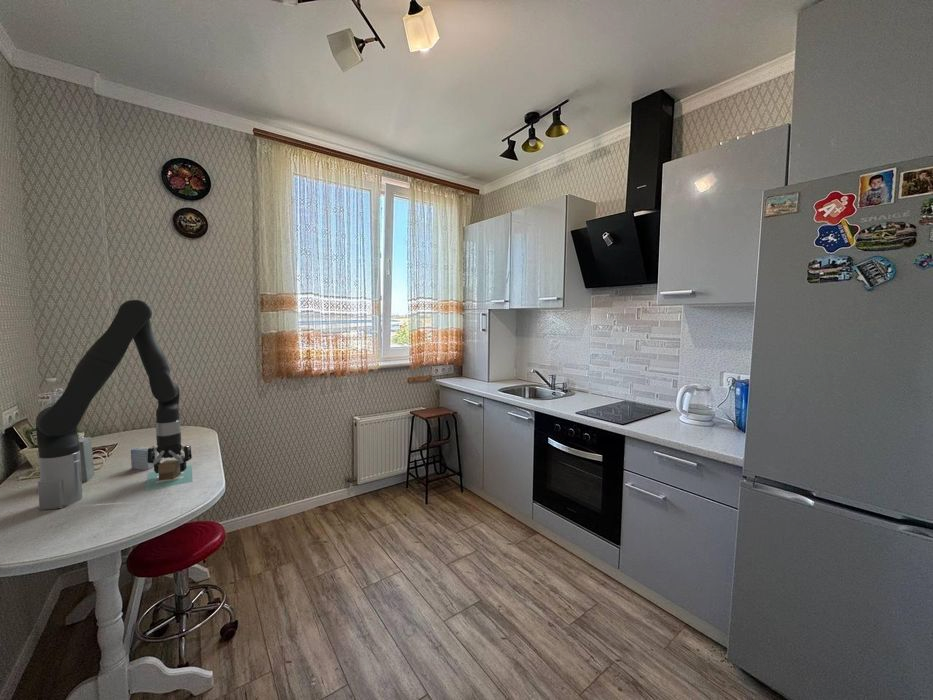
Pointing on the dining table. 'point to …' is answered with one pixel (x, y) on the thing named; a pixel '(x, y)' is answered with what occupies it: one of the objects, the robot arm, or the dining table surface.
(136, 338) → the robot arm
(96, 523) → the dining table surface
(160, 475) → the walnut block
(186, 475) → the letter card
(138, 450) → the medicine box
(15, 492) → the dining table surface
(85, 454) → the skincare box
